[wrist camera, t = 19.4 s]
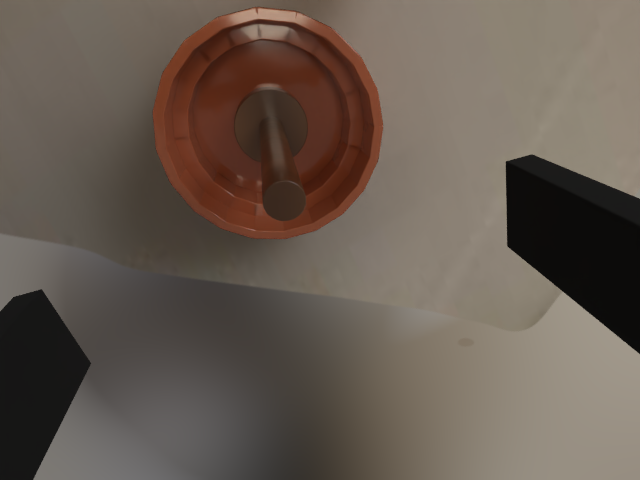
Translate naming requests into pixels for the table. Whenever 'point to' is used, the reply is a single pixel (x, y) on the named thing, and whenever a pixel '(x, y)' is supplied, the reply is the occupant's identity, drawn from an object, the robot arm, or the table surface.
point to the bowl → (229, 90)
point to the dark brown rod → (274, 147)
